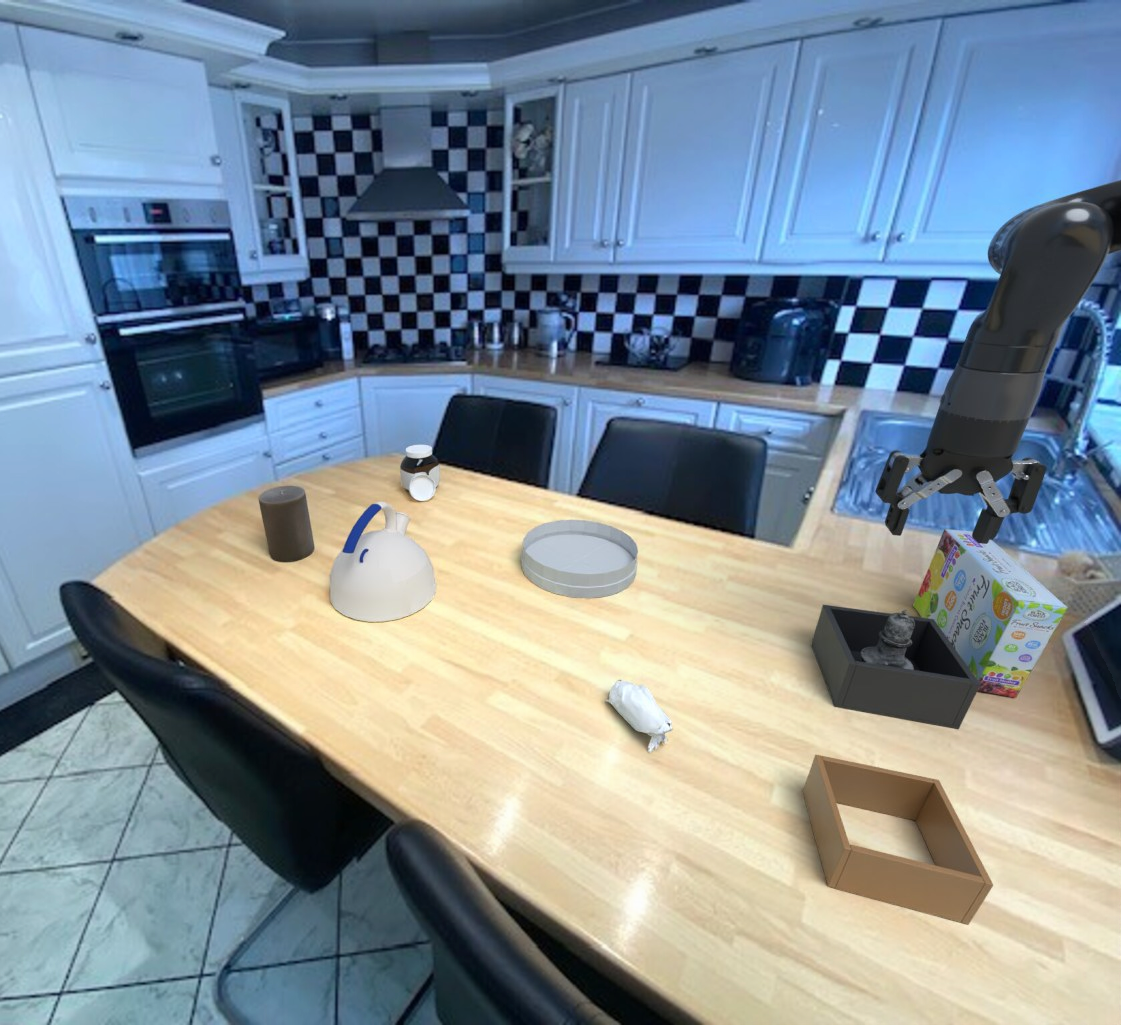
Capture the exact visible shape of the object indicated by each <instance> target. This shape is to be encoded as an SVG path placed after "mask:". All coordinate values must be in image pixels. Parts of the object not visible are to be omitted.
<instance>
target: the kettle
mask: <svg viewBox="0 0 1121 1025" xmlns="http://www.w3.org/2000/svg"><path fill="white" fill-rule="evenodd" d="M380 511H382V512H383V514H384V519H385V520H384V521H385V524H384V526H385V527H384V528H382V529H378V530H371V531H367V532H365V533H364V531H365V529H366V528H367V527H368V525H369V524H370V522H371V521H372V520H373V518H374V517H375V516H376V515H377V514H378V513H379V512H380ZM410 521H411V518H410V516H409V514H406V513H404V512H401V511H396V510H395V508H393V506H392V505H391V504H390V503H387V502H385V501H377V502H375V503H372V504H370V505H369V506H368V507H367V508H366V509H365V510H364V511H363V513H362V514H361V515H360V516H359V518H358V519H357V521H356V522H355V523H354V525H353V526H352V528H351V530H350V532H349V534H348V535H347V538H346V540H345V542H344V545H343V548H342V549H341V551H340V552H338V553H339V554H337V556H336V557H335V559H334V562H333V564H332V567H331V571H330V573H329V600H330V604H332V606H333V609H335V610H336V611H337V612H339V613H340V614H341V615H343V616H345V617H348V618H350V619H353V620H355V621H360V622H368V623H385V622H390V621H395V620H400V619H403V618H406V617H409V616H412V615H413V614H415V613H417V612H419V611H421V610H422V609H424V608H425V607H426V606H427V605H428V604H429V603H431V601H432V600H433V599H434V596H435V595H436V593H437V586H438V584H437V582H436V576H435V570H434V565H433V563H432V561H431V559H430V557H429V555H428V554H427V552H426V550H425V549H424V548H423V547H422V546H421V545H420V544H419V543H418V542H416V541H415V540H414V539H413V538H412V537H410V536H407V535H406V533H407V529H408V526H409V522H410Z"/></svg>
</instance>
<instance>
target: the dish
mask: <svg viewBox="0 0 1121 1025" xmlns="http://www.w3.org/2000/svg"><path fill="white" fill-rule="evenodd" d="M638 554H639V550H638V546H637V543H636V542H635V540H634V539H633V538H632V536H630V535H628V533H626V532H624V530H621V529H619V528H617V527H614V526H612V525H609V524H606V523H602V522H599V521H593V520H587V519H560V520H554V521H553V520H552V521H549V522H545V523H541V524H539V525H536V526H534V527H533V528H531V529H530V530H529V531H527V533H526V534H525V536H524V537H523V541H522V550H521V567H520V568H521V569H522V572H523V575H524V576H525V577H526V578H527V579H528V580H529V581H530V583H532V584H534V585H535V586H537V587H539V588H540V589H542V590H544V591H546V592H550V593H551V594H555V595H559V596H564V597H569V598H578V599H594V598H596V599H597V598H604V597H608V596H612V595H617V594H619V593H621V592H623V591H624V590H626V589H628V588H629V587H630V586H631V585H632V584H633V583H634V582H635V579H636V576H637V571H638V565H639V564H638Z"/></svg>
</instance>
